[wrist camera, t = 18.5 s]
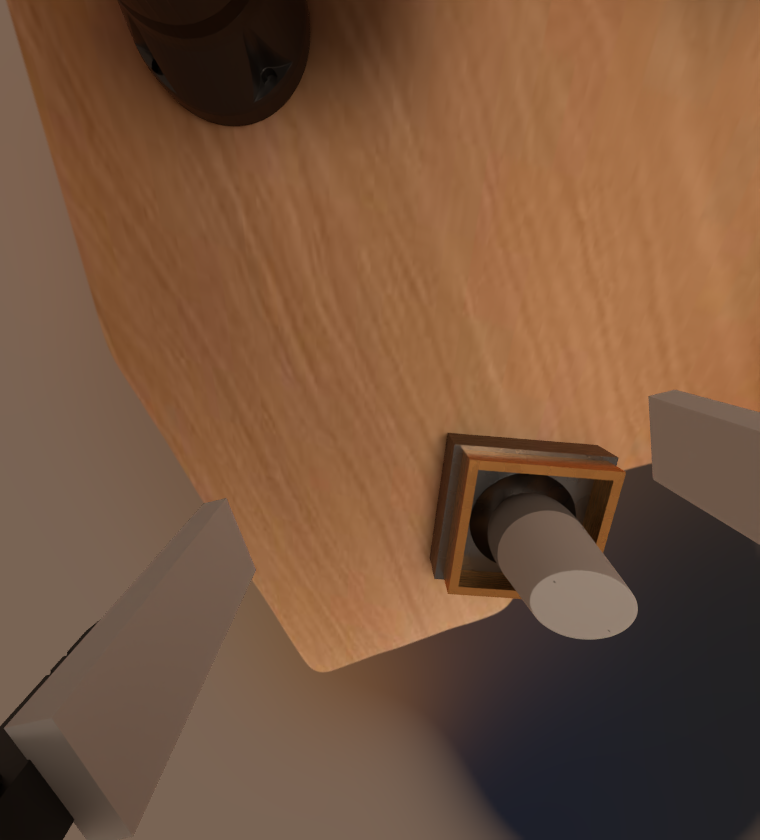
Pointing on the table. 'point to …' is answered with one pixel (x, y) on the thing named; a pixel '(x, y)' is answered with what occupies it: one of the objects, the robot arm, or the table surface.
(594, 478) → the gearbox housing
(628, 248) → the table surface
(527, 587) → the smart speaker
